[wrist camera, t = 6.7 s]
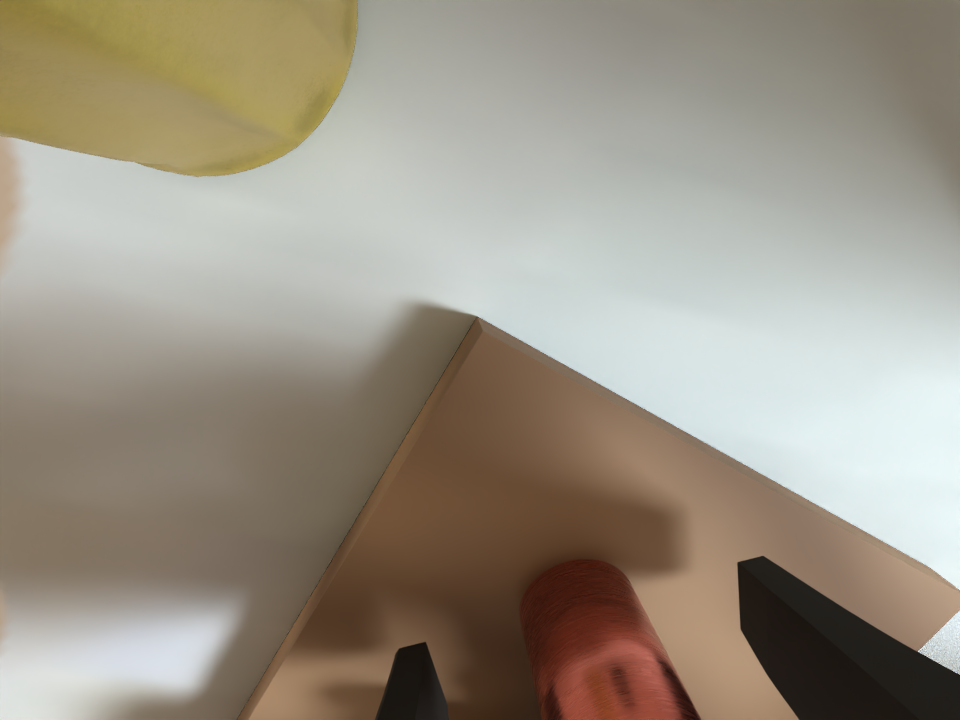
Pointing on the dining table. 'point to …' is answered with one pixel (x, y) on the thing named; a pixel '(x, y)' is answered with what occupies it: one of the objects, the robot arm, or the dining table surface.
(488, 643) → the cracker base
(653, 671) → the lever
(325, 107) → the vase
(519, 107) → the dining table surface
